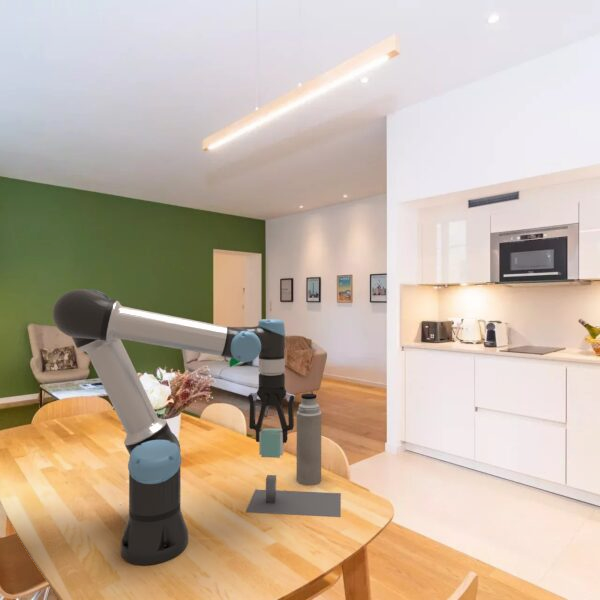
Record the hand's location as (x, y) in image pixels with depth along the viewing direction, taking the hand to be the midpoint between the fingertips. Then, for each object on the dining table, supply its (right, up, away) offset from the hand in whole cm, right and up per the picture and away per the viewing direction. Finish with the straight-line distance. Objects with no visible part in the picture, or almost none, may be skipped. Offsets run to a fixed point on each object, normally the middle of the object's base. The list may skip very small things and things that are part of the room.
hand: (271, 453), depth 124 cm
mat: (+7, -14, -1) cm, 16 cm away
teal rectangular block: (0, 0, 0) cm, 0 cm away
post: (0, -14, 0) cm, 14 cm away
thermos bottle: (+11, -14, +14) cm, 23 cm away
